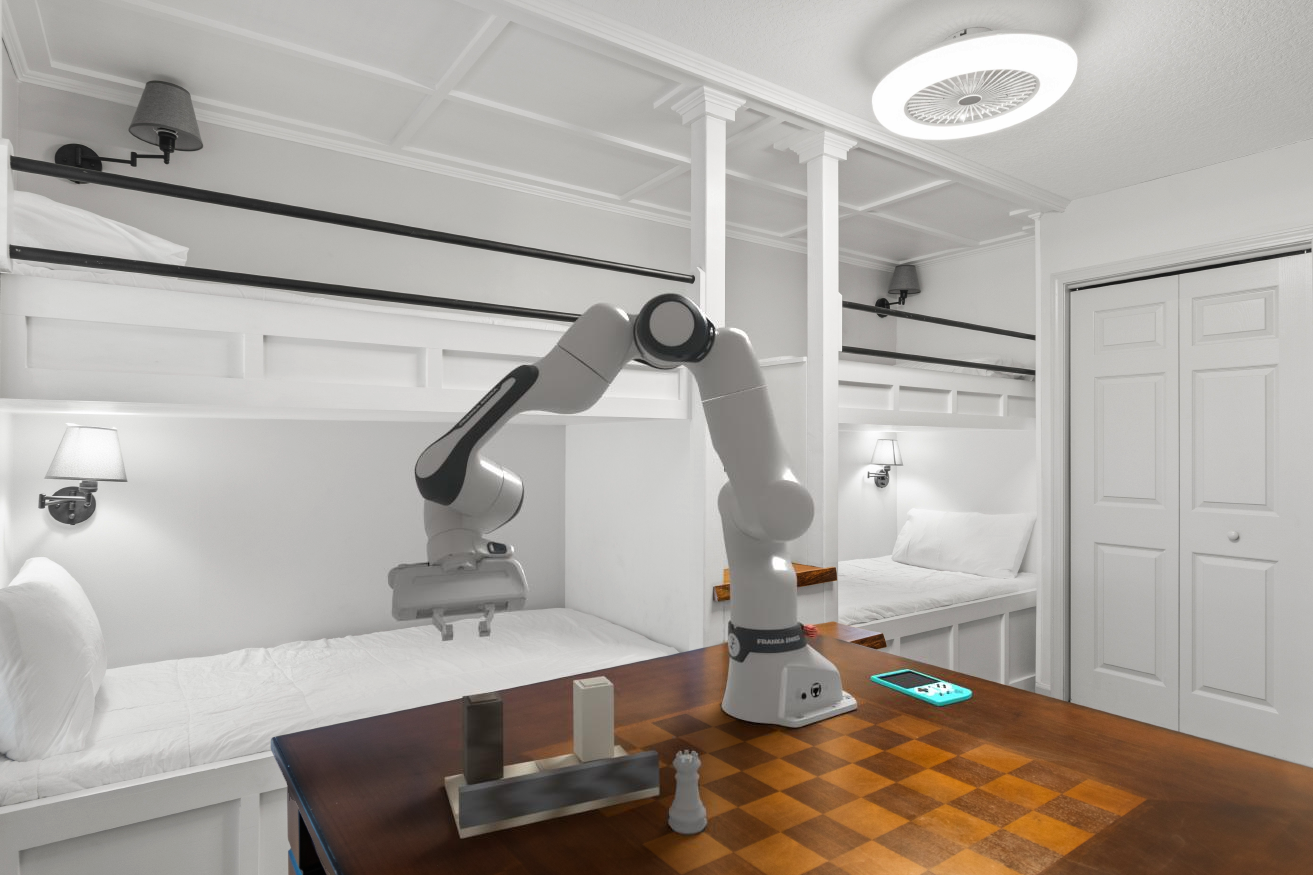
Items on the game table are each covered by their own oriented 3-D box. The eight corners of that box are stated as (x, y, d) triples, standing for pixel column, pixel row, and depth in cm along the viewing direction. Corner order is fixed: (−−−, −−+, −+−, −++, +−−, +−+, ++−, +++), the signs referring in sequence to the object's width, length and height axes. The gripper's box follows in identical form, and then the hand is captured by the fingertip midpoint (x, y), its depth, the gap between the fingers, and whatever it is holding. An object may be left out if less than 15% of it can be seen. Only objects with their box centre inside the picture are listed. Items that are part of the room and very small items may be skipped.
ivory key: (604, 745, 100) (603, 674, 100) (614, 756, 96) (613, 682, 96) (573, 751, 98) (573, 678, 98) (582, 762, 94) (581, 687, 94)
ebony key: (497, 765, 94) (497, 689, 94) (503, 777, 90) (503, 699, 90) (462, 771, 92) (462, 694, 92) (467, 784, 88) (467, 704, 88)
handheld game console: (938, 709, 117) (938, 701, 117) (868, 682, 132) (868, 675, 132) (979, 699, 122) (979, 691, 122) (907, 674, 136) (907, 667, 136)
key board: (619, 751, 101) (619, 716, 101) (659, 794, 88) (658, 753, 88) (444, 784, 91) (444, 745, 91) (460, 838, 78) (460, 792, 78)
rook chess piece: (704, 837, 78) (703, 764, 78) (664, 833, 79) (663, 761, 79) (709, 817, 82) (708, 747, 82) (671, 813, 83) (671, 745, 83)
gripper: (388, 552, 107) (392, 632, 97) (522, 544, 115) (537, 617, 106) (386, 577, 111) (390, 656, 101) (516, 568, 119) (530, 640, 110)
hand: (466, 636), depth 104 cm, fingers open, 4 cm apart
